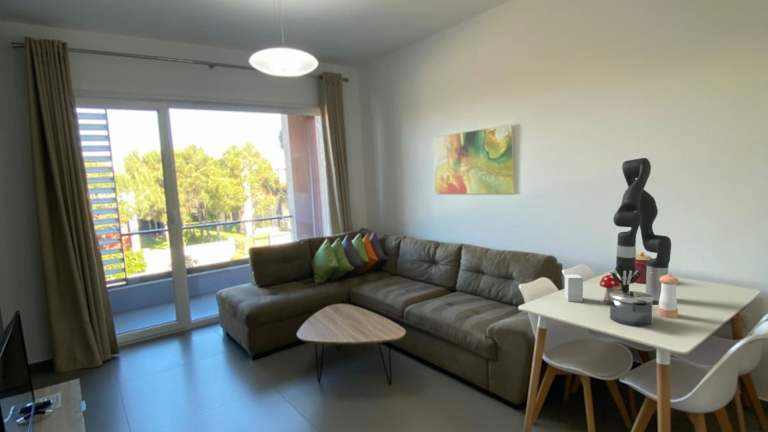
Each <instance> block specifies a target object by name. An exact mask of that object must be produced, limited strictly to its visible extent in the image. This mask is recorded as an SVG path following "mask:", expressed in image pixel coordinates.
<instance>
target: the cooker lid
mask: <svg viewBox="0 0 768 432" xmlns="http://www.w3.org/2000/svg"><path fill="white" fill-rule="evenodd" d="M613 290H615V291H612V292H610V298H612V299H614V300H617V301H620V302H625V303H632V304H648V303H652V302H653V296H651V295H649V294H646V292H642V291H635V290H629V291H628V293H624V292H622V290H621V287H620V286H613Z"/></svg>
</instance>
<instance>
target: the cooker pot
mask: <svg viewBox="0 0 768 432" xmlns="http://www.w3.org/2000/svg"><path fill="white" fill-rule="evenodd" d="M605 304H606V305H605ZM603 305H605V306H609V305H610V306H609V318H610V320H612V322H614V323H617V324H620V325H623V326H628V327H643V328H644V327H649V326H651V325H652V324H653V306H659V301H656V300H653V302H652V303H648V304H632V303H625V302H620V301H617V300H614V299H612V298H610V300H604V303H603Z"/></svg>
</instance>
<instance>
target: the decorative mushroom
mask: <svg viewBox="0 0 768 432" xmlns="http://www.w3.org/2000/svg"><path fill="white" fill-rule="evenodd" d="M599 286H600V287H602V288H605V289H606V290H605V294H604V297H603V299H602V303H603V304H604V300H610V292H612V291H615V290H613V286H620V287H621V284H620V283H618V282H617V281H616V280H615V279H614V278H613V276H612V275H611V274H606V275H605V276H604V275H603V277H602V278H601V279H600V282H599ZM604 305H605V306H607V305H606V304H604ZM608 306H609V307H610V305H608Z"/></svg>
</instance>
